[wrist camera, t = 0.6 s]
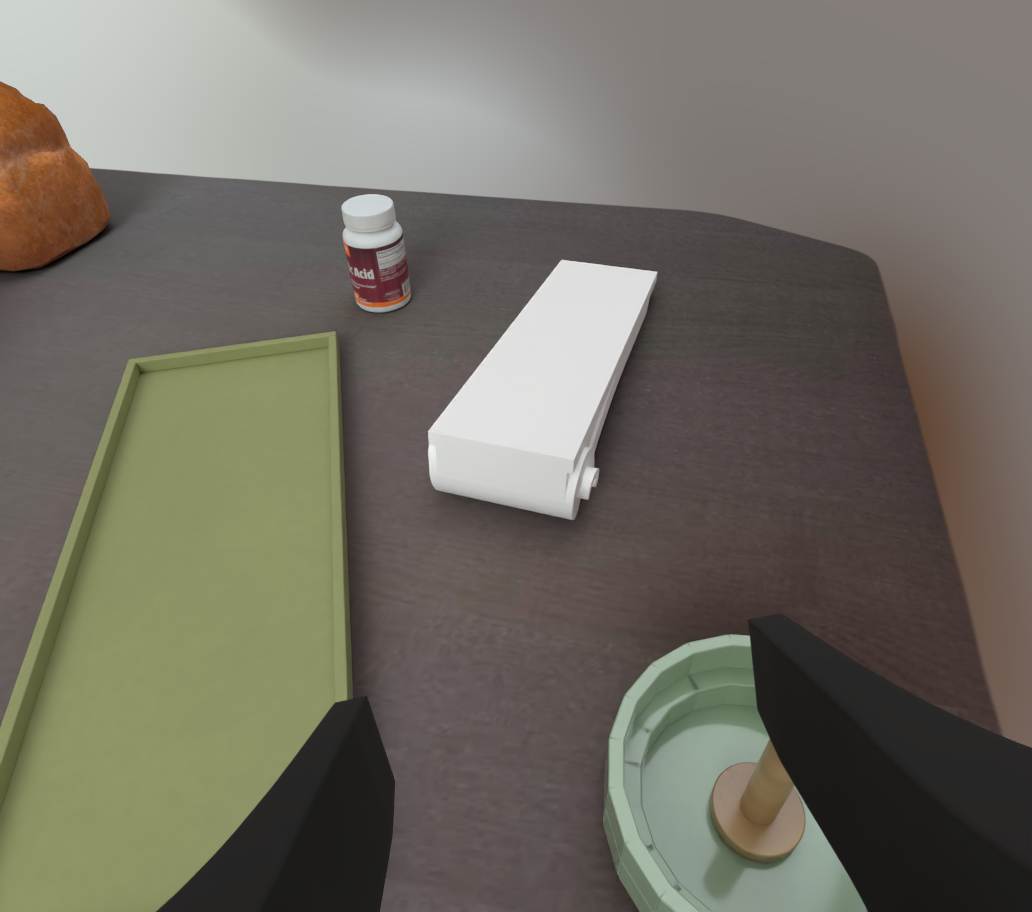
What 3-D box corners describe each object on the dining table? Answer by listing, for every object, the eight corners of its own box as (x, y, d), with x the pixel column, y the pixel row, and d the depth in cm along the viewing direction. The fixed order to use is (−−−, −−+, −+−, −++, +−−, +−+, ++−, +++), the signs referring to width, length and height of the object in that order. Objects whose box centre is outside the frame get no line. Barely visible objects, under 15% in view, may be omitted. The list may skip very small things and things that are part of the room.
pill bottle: (345, 301, 60) (323, 205, 54) (388, 280, 62) (372, 186, 56) (379, 320, 57) (360, 222, 52) (423, 298, 60) (410, 202, 54)
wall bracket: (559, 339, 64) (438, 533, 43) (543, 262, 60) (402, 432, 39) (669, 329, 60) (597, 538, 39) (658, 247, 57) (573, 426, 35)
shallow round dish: (987, 956, 25) (1042, 926, 22) (663, 1048, 23) (679, 1028, 21) (813, 658, 34) (837, 610, 31) (569, 711, 32) (571, 665, 29)
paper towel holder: (818, 851, 27) (897, 749, 21) (731, 873, 27) (787, 776, 21) (774, 761, 30) (833, 647, 24) (694, 779, 29) (734, 668, 23)
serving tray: (361, 916, 26) (354, 904, 25) (-74, 1022, 24) (-101, 1014, 23) (339, 347, 55) (335, 330, 54) (136, 375, 53) (128, 358, 52)
